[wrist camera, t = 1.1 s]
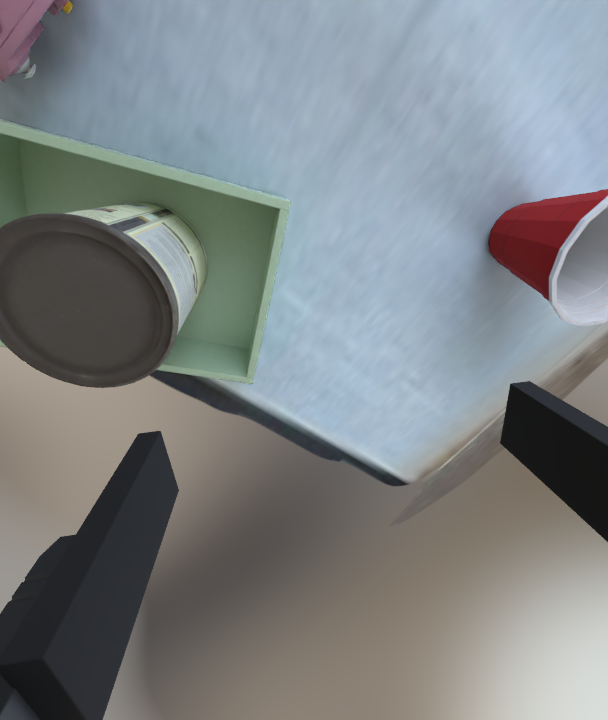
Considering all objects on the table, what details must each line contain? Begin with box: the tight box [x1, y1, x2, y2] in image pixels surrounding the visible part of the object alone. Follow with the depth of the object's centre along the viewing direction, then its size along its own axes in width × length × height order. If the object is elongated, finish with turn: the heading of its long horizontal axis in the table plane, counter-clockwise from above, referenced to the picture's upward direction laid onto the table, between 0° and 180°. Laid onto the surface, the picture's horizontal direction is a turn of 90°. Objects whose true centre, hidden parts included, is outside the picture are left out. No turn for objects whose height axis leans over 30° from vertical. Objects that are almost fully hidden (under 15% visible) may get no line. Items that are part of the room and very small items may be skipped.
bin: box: [0, 119, 291, 384], centre depth 28 cm, size 16×22×6 cm
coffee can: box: [0, 201, 208, 388], centre depth 25 cm, size 10×10×14 cm
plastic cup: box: [489, 189, 608, 326], centre depth 29 cm, size 11×11×12 cm
